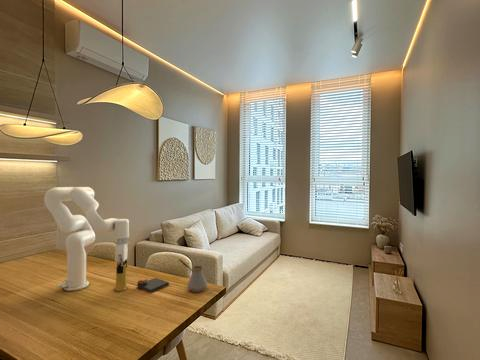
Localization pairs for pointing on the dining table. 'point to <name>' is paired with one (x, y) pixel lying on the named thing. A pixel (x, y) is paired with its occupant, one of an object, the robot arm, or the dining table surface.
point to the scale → (152, 285)
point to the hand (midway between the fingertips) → (122, 270)
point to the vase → (121, 279)
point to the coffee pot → (196, 278)
